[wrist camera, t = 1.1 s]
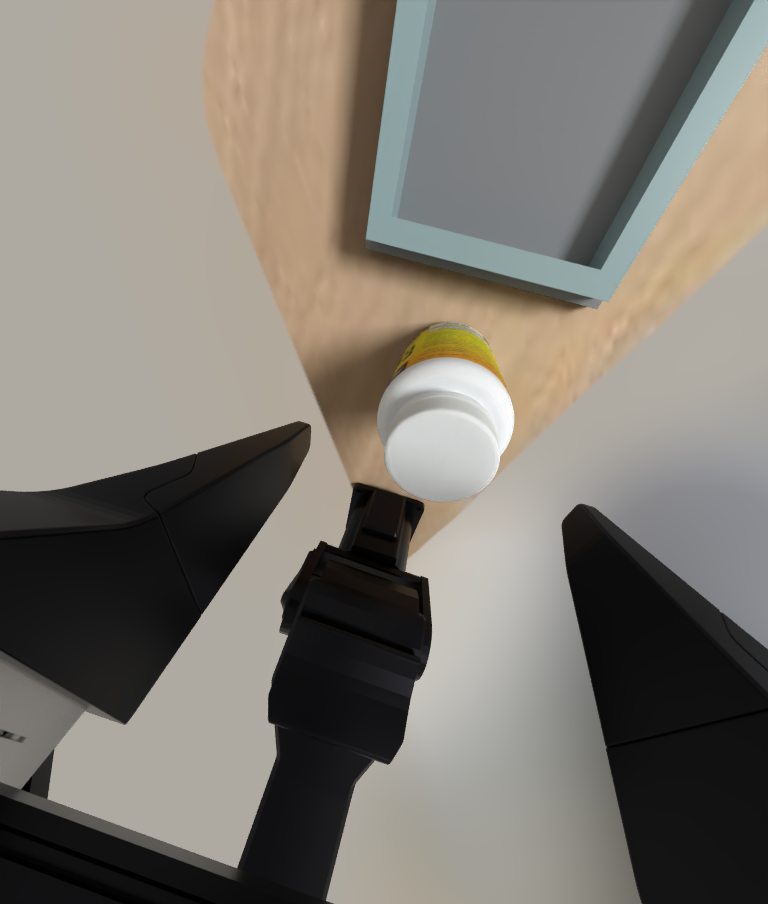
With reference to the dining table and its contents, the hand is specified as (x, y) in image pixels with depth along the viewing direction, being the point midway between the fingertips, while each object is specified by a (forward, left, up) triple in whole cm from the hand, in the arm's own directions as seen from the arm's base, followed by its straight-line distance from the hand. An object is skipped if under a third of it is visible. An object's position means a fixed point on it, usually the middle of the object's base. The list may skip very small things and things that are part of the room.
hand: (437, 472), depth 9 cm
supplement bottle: (0, 0, -11) cm, 11 cm away
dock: (+11, 0, -11) cm, 15 cm away
